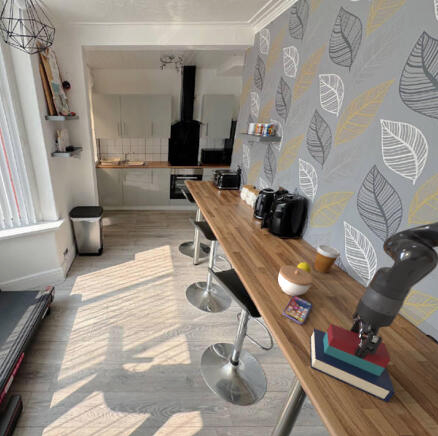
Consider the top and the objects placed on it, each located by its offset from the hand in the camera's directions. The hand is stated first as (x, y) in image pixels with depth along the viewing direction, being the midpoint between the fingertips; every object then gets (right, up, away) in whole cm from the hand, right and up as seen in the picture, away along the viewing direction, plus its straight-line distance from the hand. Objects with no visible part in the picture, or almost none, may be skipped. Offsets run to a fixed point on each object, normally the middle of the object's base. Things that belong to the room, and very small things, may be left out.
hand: (355, 345), depth 70 cm
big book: (0, -9, +4) cm, 9 cm away
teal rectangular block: (0, -4, +2) cm, 5 cm away
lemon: (+13, +9, +46) cm, 48 cm away
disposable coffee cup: (+28, +11, +52) cm, 60 cm away
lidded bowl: (+2, +5, +36) cm, 36 cm away
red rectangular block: (0, -1, +1) cm, 1 cm away
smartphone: (-2, +1, +25) cm, 25 cm away
